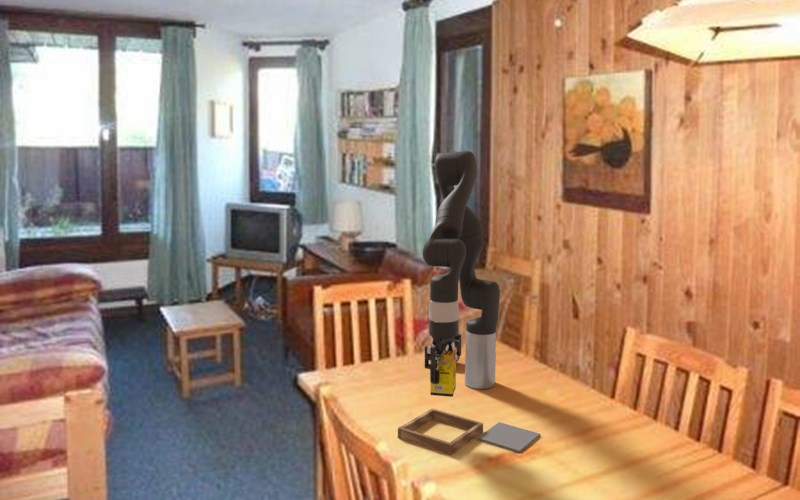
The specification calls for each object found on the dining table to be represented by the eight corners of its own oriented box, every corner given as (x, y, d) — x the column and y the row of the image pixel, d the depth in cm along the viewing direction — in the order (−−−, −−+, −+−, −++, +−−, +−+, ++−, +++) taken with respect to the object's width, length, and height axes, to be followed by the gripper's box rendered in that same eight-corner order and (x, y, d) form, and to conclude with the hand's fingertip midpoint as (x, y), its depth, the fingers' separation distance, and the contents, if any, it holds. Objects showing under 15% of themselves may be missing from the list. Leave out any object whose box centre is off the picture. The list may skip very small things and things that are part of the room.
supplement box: (453, 397, 173) (453, 355, 171) (430, 395, 174) (430, 354, 172) (456, 388, 178) (456, 348, 176) (433, 386, 180) (433, 346, 178)
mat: (499, 424, 185) (499, 422, 185) (540, 435, 178) (540, 433, 178) (476, 439, 175) (476, 437, 175) (519, 452, 168) (519, 450, 168)
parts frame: (432, 417, 189) (432, 408, 189) (483, 432, 180) (483, 423, 179) (397, 437, 176) (397, 428, 176) (450, 454, 167) (450, 445, 167)
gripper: (446, 308, 180) (445, 367, 183) (415, 321, 169) (415, 384, 172) (471, 312, 176) (470, 373, 179) (441, 326, 165) (440, 390, 168)
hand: (443, 378), depth 175 cm, fingers closed on supplement box, 7 cm apart
